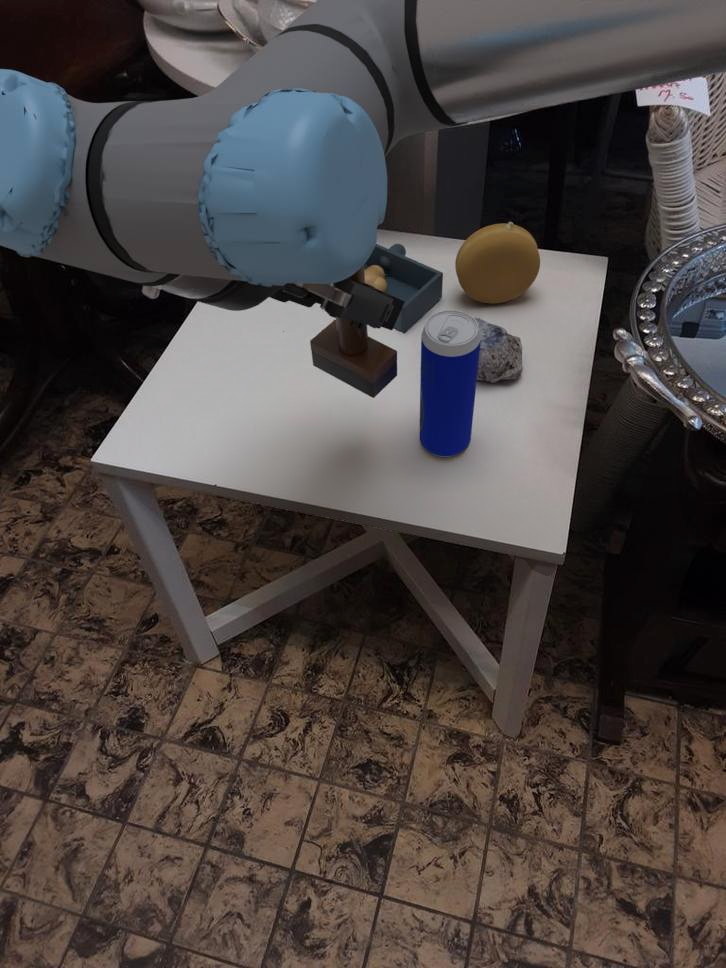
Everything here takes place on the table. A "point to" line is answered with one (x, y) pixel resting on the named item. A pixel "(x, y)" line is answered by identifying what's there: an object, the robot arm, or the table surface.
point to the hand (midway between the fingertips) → (379, 307)
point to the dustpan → (412, 275)
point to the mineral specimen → (498, 353)
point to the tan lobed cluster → (376, 277)
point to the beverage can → (448, 381)
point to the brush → (354, 354)
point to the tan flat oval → (497, 263)
